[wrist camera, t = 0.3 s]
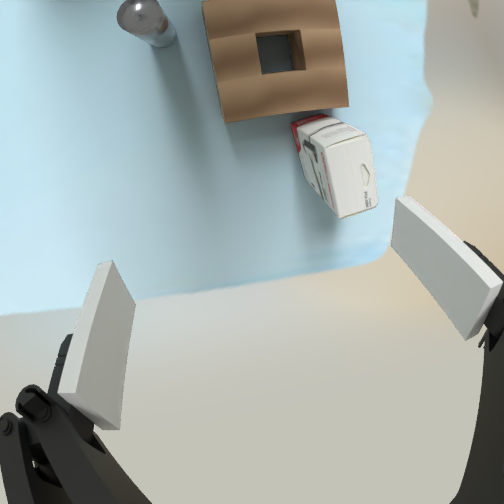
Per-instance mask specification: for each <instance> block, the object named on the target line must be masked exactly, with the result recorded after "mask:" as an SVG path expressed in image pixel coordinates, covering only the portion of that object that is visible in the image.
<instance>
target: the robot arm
mask: <svg viewBox="0 0 504 504" xmlns="http://www.w3.org/2000/svg"><path fill="white" fill-rule="evenodd" d="M391 247H392V248H393V249H394V250H395V251H396V252H397V254H398V255H399V256H400V257H401V258H402V259H403V261H404V262H405V263H406V264H407V265H408V267H409V268H410V269H411V270H412V271H413V272H414V274H415V275H416V276H417V277H418V279H419V280H420V281H421V282H422V284H423V285H424V286H425V287H426V288H427V290H428V291H429V292H430V293H431V295H432V296H433V297H434V299H435V300H436V301H437V303H438V304H439V305H440V306H441V308H442V309H443V310H444V312H445V313H446V314H447V316H448V317H449V319H450V320H451V321H452V322H453V324H454V325H455V327H456V328H457V329H458V331H459V332H460V334H461V335H462V337H463V338H464V339H465V341H466V340H467V339H469V338H472V337H473V336H475V335H477V334H478V333H479V331H480V329H481V328H482V326H483V324H485V326H486V327H487V330H486V332H485V334H484V336H483V337H482V339H481V341H480V342H479V346H478V347H479V348H480V347H481V345H482V344H483V342H484V341H485V346H484V347H483V348H484V364H483V377H482V387H481V395H480V402H479V409H478V415H477V421H476V427H475V432H474V437H473V442H472V446H471V450H470V454H469V458H468V462H467V466H466V469H465V473H464V476H463V480H462V483H461V486H460V489H459V491H458V493H457V495H456V496H455V498H454V499H453V500H452V501H451V503H450V504H504V275H503V274H502V273H501V272H500V271H499V270H498V269H497V268H496V267H495V266H494V265H493V264H492V263H491V262H490V261H489V260H488V259H487V258H486V257H485V256H483V254H482V253H481V252H480V251H479V250H478V249H477V248H476V247H475V246H473V245H471V244H469V243H468V242H466V241H461V240H460V239H459V238H458V237H457V236H456V235H455V234H454V233H452V232H451V231H450V230H449V229H448V228H447V227H446V226H445V225H444V224H442V223H441V222H440V221H439V220H438V219H437V218H435V217H434V216H433V215H432V214H431V213H429V212H428V211H427V210H426V209H425V208H423V207H422V206H421V205H420V204H418V203H417V202H416V201H415V200H413V199H412V198H411V197H410V196H403V197H397V198H396V199H395V211H394V222H393V232H392V240H391ZM135 306H136V304H135V302H134V300H133V299H132V297H131V295H130V293H129V291H128V289H127V287H126V286H125V284H124V282H123V280H122V278H121V276H120V274H119V272H118V270H117V268H116V266H115V264H114V262H113V260H112V261H108V262H104V263H100V264H98V266H97V269H96V271H95V274H94V276H93V279H92V281H91V284H90V287H89V289H88V292H87V295H86V298H85V300H84V303H83V306H82V309H81V312H80V315H79V318H78V321H77V324H76V327H75V330H74V333H73V334H69V335H67V337H66V338H65V340H64V341H63V343H62V344H61V347H60V350H59V353H58V358H57V360H56V363H55V365H56V366H55V367H54V370H53V374H52V377H51V381H50V385H49V389H48V393H47V394H46V393H45V392H44V391H43V390H42V389H41V388H40V387H38V386H37V385H34V384H33V385H28V386H26V387H25V388H23V389H22V391H21V392H20V393H19V395H18V397H17V399H16V405H15V406H16V411H17V412H18V413H19V414H20V415H22V416H23V418H18V417H17V416H16V415H14V414H13V413H11V412H7V413H4V414H3V415H2V416H1V417H0V465H1V472H2V477H3V483H4V487H5V491H6V496H7V500H8V504H152V503H151V502H150V501H149V500H148V499H147V498H146V496H145V495H144V494H143V493H142V492H141V491H140V490H139V489H138V487H137V486H136V485H135V484H134V483H133V481H132V480H131V479H130V478H129V477H128V475H127V474H126V473H125V472H124V470H123V469H122V468H121V467H120V465H119V464H118V463H117V461H116V460H115V459H114V457H113V456H112V455H111V453H110V452H109V451H108V449H107V448H106V447H105V445H104V444H103V442H102V441H101V440H100V438H99V437H98V435H97V434H96V433H95V432H94V431H93V429H94V424H95V425H97V426H98V427H99V428H101V429H102V430H120V421H121V409H122V398H123V388H124V380H125V371H126V364H127V356H128V349H129V342H130V336H131V330H132V324H133V318H134V311H135ZM32 461H34V464H35V468H34V467H33V462H32Z"/></svg>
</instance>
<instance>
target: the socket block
mask: <svg viewBox="0 0 504 504" xmlns="http://www.w3.org/2000/svg"><path fill="white" fill-rule="evenodd" d="M202 14H203V19H204V24H205V29H206V34H207V40H208V45H209V50H210V55H211V60H212V65H213V71H214V76H215V81H216V86H217V91H218V96H219V101H220V107H221V112H222V117H223V119H224V121H225V123H231V122H236V121H241V120H247V119H253V118H259V117H265V116H271V115H278V114H285V113H292V112H300V111H309V110H319V109H329V108H341V107H349V101H348V89H347V79H346V70H345V61H344V53H343V45H342V38H341V31H340V25H339V19H338V13H337V7H336V2H335V0H208V1H203V2H202ZM275 35H288V40H289V46H290V52H291V59H292V65H293V70H291V71H281V72H272V73H264V74H262V71H261V65H260V59H259V53H258V47H257V42H256V37H264V36H275Z"/></svg>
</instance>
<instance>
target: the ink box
mask: <svg viewBox="0 0 504 504" xmlns="http://www.w3.org/2000/svg"><path fill="white" fill-rule="evenodd" d="M291 129H292V132H293V135H294V139H295V142H296V146H297V149H298V153H299V157H300V160H301V164H302V168H303V171H304V175H305V179H306V181H307V182H308V183H309V184H310V185H311V186H312V187H313V188H314V189H315V191H316V192H317V193H318V194H319V195H320V196H321V197H322V199H323V200H324V201H325V202H326V203H327V204H328V206H329V207H330V208H331V209H332V210H333V212H334V213H335V214H336V215H337V217H338V218H339V219H344V218H347V217H350V216H353V215H356V214H359V213H362V212H364V211H367V210H370V209H372V208H375V207H376V206H377V204H378V196H377V186H376V179H375V170H374V165H373V156H372V151H371V143H370V140H369V139H368V138H367V135H366V133H365V132H363V131H360V130H358V129H356V128H354V127H352V126H350V125H348V124H346V123H344V122H341V121H339V120H337V119H335V118H332V117H330V116H327V115H325V114H318V115H315V116H311V117H307V118H304V119H301V120H298V121H296V122H293V123H291Z"/></svg>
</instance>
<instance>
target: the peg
mask: <svg viewBox="0 0 504 504" xmlns="http://www.w3.org/2000/svg"><path fill="white" fill-rule="evenodd" d="M117 21H118V24H119V26H120V27H121V28H122V29H124V30H126V31H127V32H129V33H131V34H133V35H135V36H137V37H139V38H141V39H142V40H144V41H146V42H148V43H149V44H151V45H153V46H155V47H159V48H162V47H166V46H168V45H170V44H171V43H172V42H173V41H174V39H175V36H176V31H175V29H174V27H173V26H172V24H171V22H170V21H169V19H168V18H167V16H166V15H165V13H164V11H163V10H162V8H161V7H160V5H159V4H158V2H157V1H156V0H126V1H125V2H124V3H123V4H122V5H121V7H120V8H119V10H118V13H117Z"/></svg>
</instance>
